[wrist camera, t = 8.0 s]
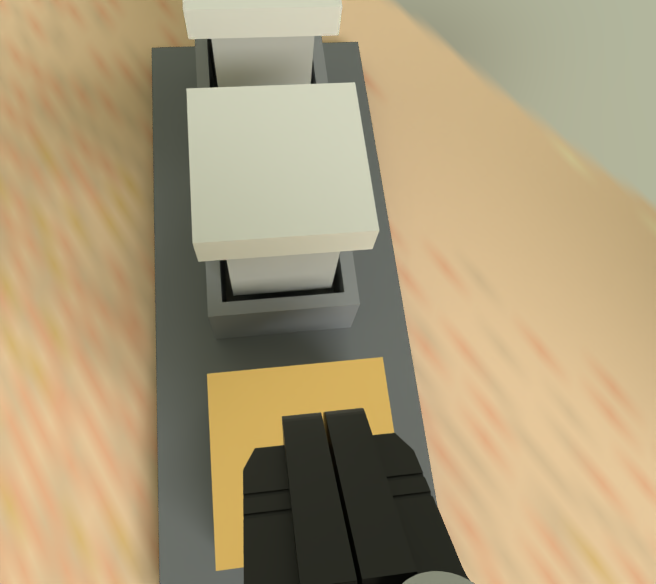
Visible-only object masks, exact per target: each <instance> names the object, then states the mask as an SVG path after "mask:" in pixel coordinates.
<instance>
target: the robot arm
mask: <svg viewBox="0 0 656 584" xmlns="http://www.w3.org/2000/svg"><path fill="white" fill-rule="evenodd" d="M282 430H283V444H284V445H280V446H271V447H261V448H255V449H254V451H253V452H252V454H251V456H250V458H249V460H248V462H247V463H246V465H245V467H244V469H243V518H244V520H243V554H244V584H474V583H473V582H471V581H470V580H469V578H468V577H467V576H466V574H465V572H464V570H463V568H462V565H461V563H460V561H459V558H458V556H457V553H456V551H455V548H454V546H453V544H452V541H451V539H450V536H449V534H448V532H447V529H446V527H445V524H444V522H443V519H442V517H441V515H440V512H439V510H438V507H437V505H436V503H435V500H434V498H433V496H431V490H430V488H429V486H428V483H427V481H426V478H425V477H424V476H423V471H422V469H421V466H420V464H419V461H418V459H417V457H416V454H415V452H414V450H413V449H412V448H411V447H410V446H409V445H408V444H407V443H405V442H404V441H403V440H402V439H401V438H400V437H399V436H398V435H397V434H396V433H387V434H378V435H372V432H371V428H370V425H369V422H368V419H367V416H366V413H365V411H364V409H363V408H356V409H346V410H336V411H327V412H324V413H323V418H322V414H321V412H319V413H309V414H299V415H290V416H282Z"/></svg>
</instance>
